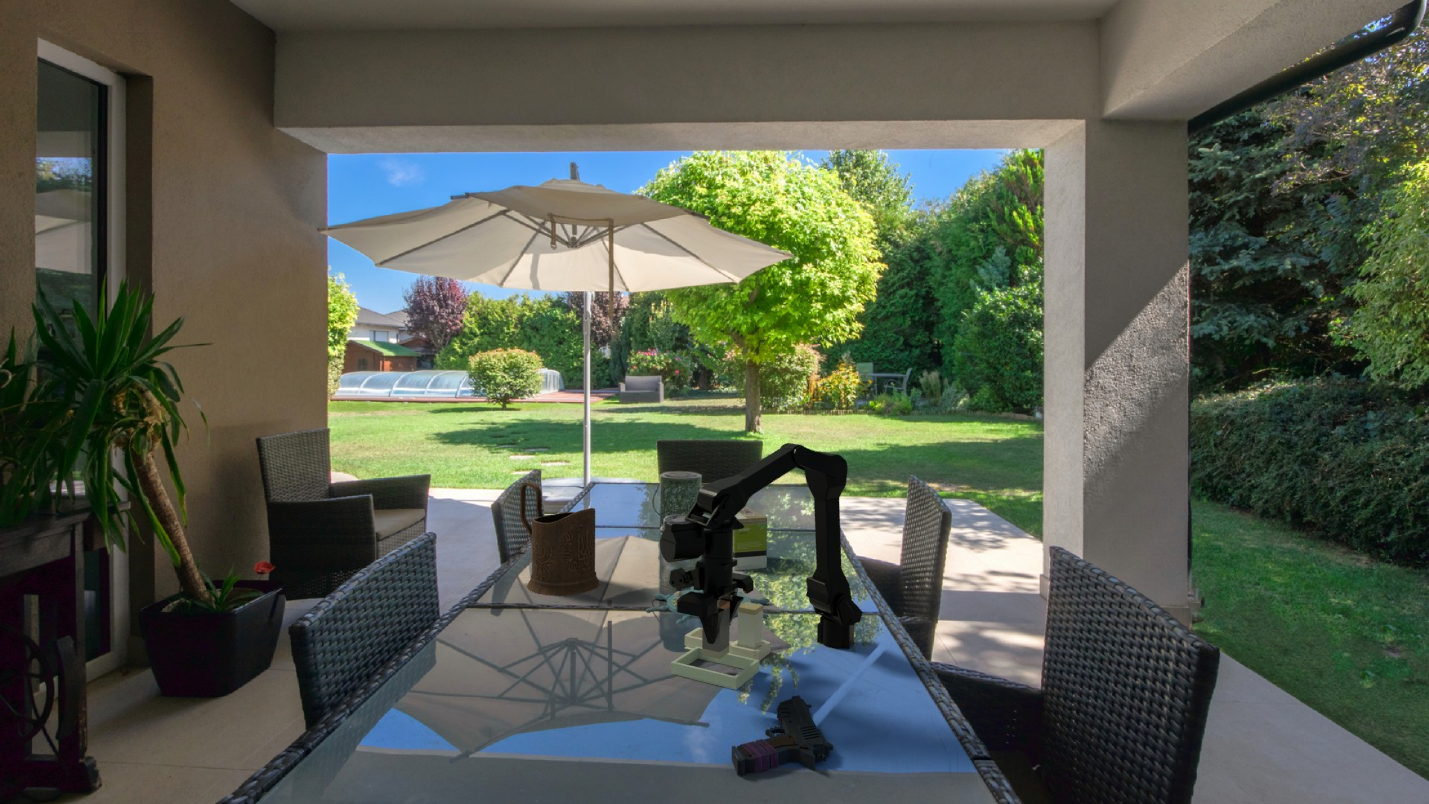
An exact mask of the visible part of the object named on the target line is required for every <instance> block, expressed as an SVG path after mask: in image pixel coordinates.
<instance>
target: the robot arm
mask: <svg viewBox="0 0 1429 804" xmlns="http://www.w3.org/2000/svg"><path fill="white" fill-rule="evenodd" d="M848 467H849V466H848V462H847V460H846V459H845V458H844V457H843V456H842V455H840V454H838V453H831V452H826V451H825V452H824V451H819V450H814V449H811V448H808V447H806V446H805V445H802V444H799V443H792V442H787V443H784V444H782V445H781V446H780V447H779V448H778V449H776V450H775V451H773V452H771V453H770V454H768V455H766V456H765V457H764V458H762V459H760V460H759V461H757V462H755V463H754V464H752V465H750V466H749V467H748V468H746V469H744V470H743V471H740V472H739V473H738V474H736V475H732V476H729V477H725V478H720V479H717V480H715V481H711V482H710V483H707V484H705V485H703V486H702V487H701V488H700V489H699V490H698V493H697V496H696V500H695V501H694V503H693V505H692V506H691V507H690V510H689V511H688V512H687V514H686V516H685V517H684V521H677V522H676V521H668V522H666V523H665V529H664V530H663V531H662V534H661V537H660V538H659V548H660V553H661V555H662V558H663V559H664V561H665V562H667V563H674V562H682V561H689V560H695V559H699V560H697V561H696V562H695V563H694V564H695V565H694V566H692V567H688V568H683V567H679V568H674V569H672V570H670V573H669V581H668V583H669V585H670V586H671V587H672V588H673V589H675V590H676V592H677V591H680V592H681V591H683V590H684V589H685V590H686V589H688V588H691V587H693V586H694V590H698V591H700V590H703V593H698V592H693V591H690V592H688V593H686V594H684V595H682V596H681V597H680V598H679V599H678V600H677V602H676V611H677V612H678V613H683V614H688V615H693V616H698V617H699V618H698V619H699V621H700V623H701V626H703V629H704V633H705V636H706V639H707V642H708V643H709V644H714V642H715V639H716V636H717V633H718V630H719V627H720V623H721V620H722V617H723V613H724V610H725V609H722V608H719V601H720V600H724V601H730V624H732V621H733V620H734V619H735V618H734V617H735V616H734V615H735V613H736V612H737V610H738V608H739V606H740V604H741V602H742V601H743V599H744V597H742V596H737V592H736V588H738V589H741V590H742V591H743V593H744V595H747V594H750V593H752V592H754V591H755V590H754V588H755V587H754V579H753V578H752V577H751V575H749V574H743V573H737V572H734V570H733V567H735V566H737V560H736V559H733V530H737V529H743V528H744V525H743V524H742V523H740V522H739V521H738V519H737V518H736V516H735V515H736V514H737V513H739V512H740V511H741V510H742V509H743V508H744V507H747V504H748V502H749V500H750V499H751V498H752V497H753V496H754V495H755V494H756V493H758V492H759V491H761V490H763V489H764V488H767V486H769V485H771V484H772V483H774V482H776V481H777V480H778V479H780V478H782V477H783V476H785V475H786V474H788V473H789V472H791V471H793V470H794V469H795V468H796V469H798V470H802V471H803V472H804V476H805V481H806V485H807V487H808V488H809V491H810V492H811V495H812V496H813V503H814V505H813V506H814V507H813V508H814V532H815V533H814V535H815V561H816V568H815V570H814V572H813V573H812V576H806V580H805V582H806V594H805V597H807V598H808V601H809V604H810V605H812V606H813V607H812V608H813V610H814V613H815V614H816V615H819V616H820V617H819V622H818V623H817V624H816V625H817V627H816V628H817V631H816V633H817V634H816V642H817V643H819V644H820V645H823V646H825V647H827V648H830V649H835V650H850V649H851V648H852V647H853V646H855V625H856V623H857V624H858V623H861V619H862V616H863V611H862V609H860V608H861V607H859V606H858V605H857V604H856V602H854V601H853V597H852V592H851V585H850V583H849V581H848V578H847V577H846V574H845V573H844V571H843V568H842V567H843V566H842V546H841V542H842V540H841V537H842V536H841V513H840V509H841V507H840V506H841V505H840V497H841V495H842V494H843V492H844V490H845V487H846V486H847V481H848V470H849V469H848ZM704 515H706V516H704ZM707 516H709V517H707Z"/></svg>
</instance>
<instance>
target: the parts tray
mask: <svg viewBox="0 0 1429 804" xmlns="http://www.w3.org/2000/svg"><path fill="white" fill-rule="evenodd" d="M698 659H699V660H703V661H707V662H712V663H716V664H720V665H724V666H728V667H734V668H737V669H741V671H740V672H738V673H737V674H736V675H731V674H726V673H722V672H720V671H719V672H718V671H716V670H715V671H714V670H710V669H706V668H703V667H698V666H694V665H690V664H692V663H693V662H695V661H696V660H698ZM759 672H760V661H759V660H756V659H752V658H747V657H743V656H738V655H734V654H729V653H728V654H726V655H725V656H723V657H722V658H720V659H718V658H713V657H709V656H704V655H702V647H698V646H697V647H695V648H693V649H692V650H689V651H687V652H685V653H684V654H682V655H681V656H679V657H678V658H676V659H675V660H672V661H671V662H670V674H671V675H675V676H678V677H682V678H686V679H691V680H695V681H699V682H702V683H703V682H704V683H707V684H711V685H715V686H720V687H722V688H726V689H732V690H734V691H735V690H736V691H737V689H739V688H740V687H742V686H743V685H744V684H746V682H748V681H749V680H750V679H752V677H754V676H756V675H757V674H758V673H759Z"/></svg>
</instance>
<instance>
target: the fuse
mask: <svg viewBox="0 0 1429 804" xmlns="http://www.w3.org/2000/svg"><path fill="white" fill-rule="evenodd" d="M763 612H764V604H759V603H758V604H755V603H750V602H746V603H744V604H742V605H741V606H739V608H738V616H737V640H738V644H737V646H740V647H744V648H749V649H754V650H756V649H758V648H759V647H760V646H762V645H763V640H764V638H763V635H764V634H763V633H764V618H763Z"/></svg>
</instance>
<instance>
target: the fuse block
mask: <svg viewBox="0 0 1429 804" xmlns="http://www.w3.org/2000/svg"><path fill="white" fill-rule="evenodd" d="M737 644H738V639H736V640H735V641H733V640H732V641H731V640H729V654H734V655H738V656H743V657H747V658H752V659H756V660H759V662H760V661H762V660H763V659H764V658H765V657H767V656H768V655H769V654H771V645H772V644H771V642H770V641H768V640H764V639H763V645H762V646H760V647H759V648H758V649H756V650H754V649H749V648H744V647H740V646H737ZM684 646H685V647H684V649H686V650H689V651H690V650H692V649H693V648H695V647H697V646H698V647H702V627H697V628H695V629H693V630H691V631H690V632H688V633H686V634H685V635H684Z"/></svg>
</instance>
